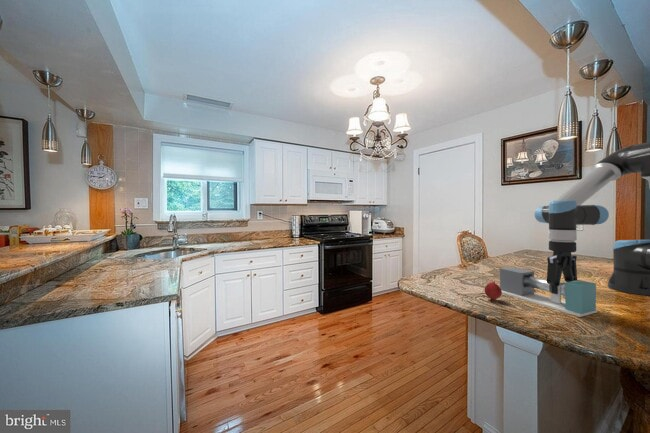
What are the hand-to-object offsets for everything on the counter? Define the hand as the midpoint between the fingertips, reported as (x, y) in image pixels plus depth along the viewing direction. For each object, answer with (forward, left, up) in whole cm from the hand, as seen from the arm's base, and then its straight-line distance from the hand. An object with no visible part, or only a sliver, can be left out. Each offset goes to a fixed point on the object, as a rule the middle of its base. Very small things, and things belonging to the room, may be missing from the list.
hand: (562, 300), depth 92 cm
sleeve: (0, -16, -2) cm, 16 cm away
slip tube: (0, -3, +2) cm, 4 cm away
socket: (0, +5, -2) cm, 6 cm away
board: (0, -6, -2) cm, 7 cm away
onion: (+17, -14, -3) cm, 22 cm away
